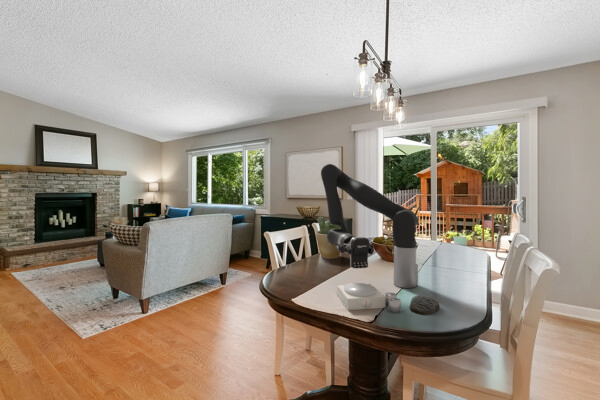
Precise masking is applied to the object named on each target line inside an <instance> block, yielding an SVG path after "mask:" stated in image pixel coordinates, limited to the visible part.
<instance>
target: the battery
mask: <svg viewBox="0 0 600 400" xmlns="http://www.w3.org/2000/svg"><path fill="white" fill-rule="evenodd" d="M369 243H370V240H369V239H368V238H366V237H364V236H362V237H361V236H357V237H356V236H355V237H354V238H352V239H351V241H350V248H352V249H353V255H350V254H349V257H350V258H349V259H350V260H349V262H350V263H349V267H350V268H352V269H367V268H368V267H369V261H368V259H369V253H368V252H369V251H370V245H369Z"/></svg>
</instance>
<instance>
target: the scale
mask: <svg viewBox="0 0 600 400" xmlns="http://www.w3.org/2000/svg"><path fill="white" fill-rule="evenodd" d="M336 297H338V299H339V301H341V303H342V304H343V306H344V307H345V308H346V310H347V311H353V310H354V311H355V310H357V311H358V310H369V309H371V310H372V309H385V308H386V305H385V294H383V293H382V292H381V291H380V290H378V289H377V288H376V287H375V285H374V286H373V285H372V284H371V283H363V282H351V283H347V284H343V285H341V284H339V285H336Z"/></svg>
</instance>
